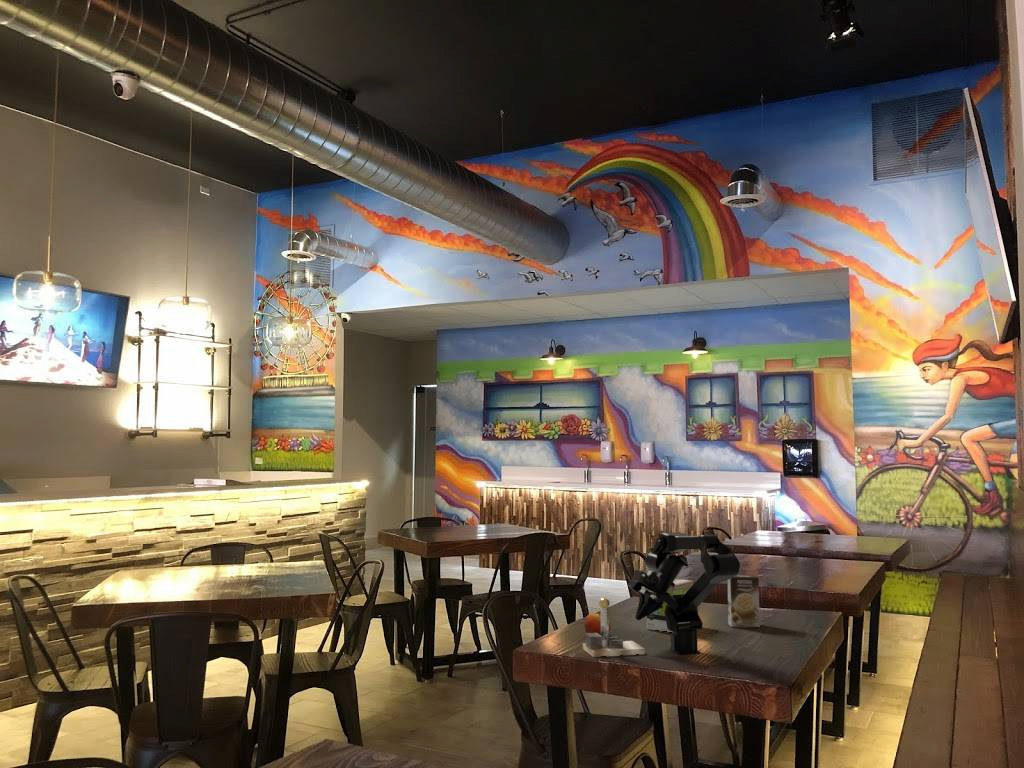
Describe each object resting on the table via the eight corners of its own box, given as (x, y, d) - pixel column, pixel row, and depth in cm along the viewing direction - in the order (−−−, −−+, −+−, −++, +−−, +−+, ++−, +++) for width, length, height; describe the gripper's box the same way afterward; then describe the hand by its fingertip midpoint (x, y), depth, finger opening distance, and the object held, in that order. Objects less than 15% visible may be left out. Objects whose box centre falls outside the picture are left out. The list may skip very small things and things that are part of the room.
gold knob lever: (608, 644, 233) (607, 596, 234) (611, 647, 230) (610, 598, 231) (589, 645, 232) (588, 597, 233) (592, 648, 229) (591, 599, 230)
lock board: (632, 645, 238) (632, 628, 239) (644, 654, 228) (644, 636, 229) (582, 648, 235) (582, 631, 235) (593, 657, 225) (593, 639, 226)
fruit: (574, 630, 252) (586, 607, 254) (594, 642, 254) (606, 618, 256) (585, 636, 245) (598, 611, 247) (606, 648, 247) (618, 623, 249)
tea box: (674, 633, 254) (673, 585, 255) (645, 629, 260) (645, 582, 261) (695, 625, 266) (694, 579, 267) (667, 621, 272) (666, 576, 273)
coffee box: (731, 627, 262) (729, 576, 264) (727, 623, 269) (726, 573, 270) (760, 628, 262) (758, 577, 263) (756, 623, 268) (754, 574, 269)
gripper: (630, 552, 244) (601, 595, 240) (666, 565, 227) (636, 612, 223) (655, 573, 247) (626, 616, 243) (692, 587, 230) (662, 634, 226)
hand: (636, 619), depth 234 cm, fingers closed
